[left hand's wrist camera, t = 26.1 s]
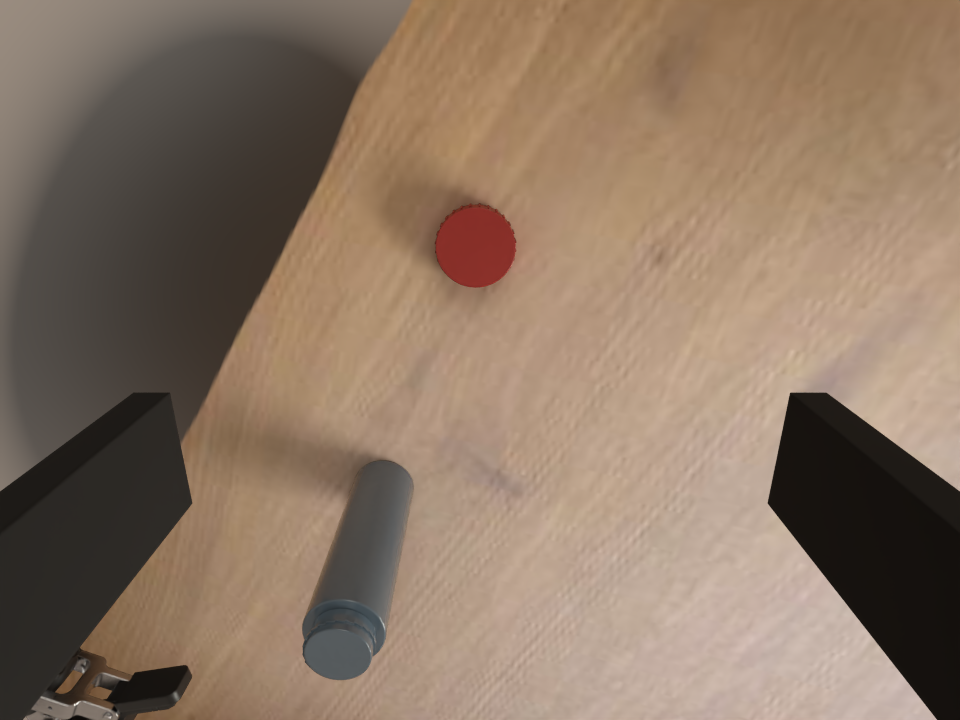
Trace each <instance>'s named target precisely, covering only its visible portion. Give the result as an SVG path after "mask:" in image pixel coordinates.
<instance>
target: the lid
mask: <svg viewBox="0 0 960 720" xmlns="http://www.w3.org/2000/svg"><path fill="white" fill-rule="evenodd" d="M440 227H441V228H440V230H439V231H438V232H437V235H438V236H437V239H436V241H435V244H436V251H435V253H436V255H437V259H438V262H439V264H440V266H441V268H442V270H443V271H444V272H445V273H446V275H447V276H448V277H450V278H451V279H452V280H453V281H455V282H457V283H459V284H461V285H464V286H468V287H484V286H488V285H491V284H493V283H495V282H496V281H498V280H500V279H501V278H502V277H503V276H504V275H505V274H506V273H507V271H508V270H509V269H510V268H511V265H512V263H513V261H514V256H515V252H516V248H515V243H516V239H515V238H514V235H513V234H514V231H513V230H512V229H511V227H510V222H507V220H506V219H505V216H504V215H501V214H500V213H499V212H498V210H497V209H496V210H494V209H493V208H490V207H489V205H487V206H484V205H480V203H479V205H471V204H470V205H468V206H464V207H463V206H461V208H459V209H457V210H453V212H452V213H451V214H450V215H449V216H448V215H447V216H446V218H445V221H444V222H443V223H441V225H440Z"/></svg>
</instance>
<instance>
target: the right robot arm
mask: <svg viewBox="0 0 960 720" xmlns="http://www.w3.org/2000/svg"><path fill="white" fill-rule="evenodd" d="M106 663H107V662H106V659H105V658H104V657H101V656H98V655H95V654H92V653H89V652H87V651H84V650H81V649H80V647H79V649H78V650H77V651H76V652H75V654H74V655H73V656H72V658H71V659H70V660H69V661H68V663H67V664H66V665H65V667H64V668H63V669H62V670H61V672H60V673H59V674H58V675H57V677H56V678H55V679H54V681H53V682H52V683H51V684H50V686H49V687H48V688H47V689H46V691H45V692H44V693H43V695H42V696H41V697H40V698H39V700H38V701H37V702H36V704H35V705H34V706H33V707H32V709H31V710H30V711H29V712H28V714H27V715H26V717H27V719H28V720H134V719H135V717H136V715H137V714H138V713H145V712H152V711H158V710H165V709H169V708H171V707H173V706H174V705H175V704H176V702H177V701H178V700H179V699H180V698H181V697H182V695H183V693H184V691H185V689H186V688H187V686H188V684H189V682H190V680H191V678H192V674H191V672H190V670H189V668H188V667H187V666H186V665H182V666H175V667H169V668H162V669H155V670H149V671H142V672H135V673H134V675H130V674H127V673H124V672H121V671H118V670H115V669H112V668H109V667H107V665H106ZM73 670H75V671H78V672H81V673H83V675H82V677H81V678H80V679H79V681H78V682H77V683H76V685H75V686H74V687H73V689H72V690H71V691H69V692H68V693H65V694H58V693H55V691H56V690H57V689H58V688H59V687H60V686H61V684H62V683H63V682H64V681H65V679H66V678H67V677H68V676H69V674H70V673H71V672H72V671H73ZM97 686H99V687H103V688H106V689H109V690H112V692H111V694H110V695H109V697H108V698H107V699H104V700H102V699H99V698H96V697H93V696H90V695H88V694H89V693H90V692H91V690H92V689H93V688H94V687H97Z"/></svg>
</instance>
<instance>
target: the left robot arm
mask: <svg viewBox="0 0 960 720" xmlns="http://www.w3.org/2000/svg"><path fill="white" fill-rule="evenodd" d="M191 504H192V499H191V494H190V489H189V485H188V480H187V475H186V470H185V465H184V460H183V455H182V450H181V445H180V440H179V436H178V431H177V426H176V421H175V416H174V411H173V406H172V401H171V396H170V393H133V394H131V395H130V396H129V397H127V398H126V399H124V400H123V401H122V402H120V403H119V404H118V405H116V406H115V407H114V408H112V409H111V410H110V411H108V412H107V413H106V414H104V415H103V416H102V417H100V418H99V419H97V420H96V421H95V422H93V423H92V424H91V425H89V426H88V427H87V428H85V429H84V430H83V431H81V432H80V433H79V434H77V435H76V436H75V437H73V438H72V439H70V440H69V441H68V442H66V443H65V444H64V445H62V446H61V447H60V448H58V449H57V450H56V451H54V452H53V453H52V454H50V455H49V456H48V457H46V458H45V459H44V460H42V461H41V462H39V463H38V464H37V465H35V466H34V467H33V468H31V469H30V470H29V471H27V472H26V473H25V474H23V475H22V476H21V477H19V478H18V479H17V480H15V481H14V482H12V483H11V484H10V485H8V486H7V487H6V488H4V489H3V490H2V491H0V720H23V719H24V718H25V716H26V715H27V714H28V712H29V711H30V710H31V709H32V707H33V706H34V705H35V704H36V702H37V701H38V700H39V698H40V697H41V696H42V695H43V693H44V692H45V691H46V689H47V688H48V687H49V686H50V684H51V683H52V682H53V681H54V679H55V678H56V677H57V675H58V674H59V673H60V672H61V670H62V669H63V668H64V667H65V665H66V664H67V663H68V661H69V660H70V659H71V658H72V656H73V655H74V654H75V652H76V651H77V650H78V649H79V647H80V646H81V645H82V644H83V642H84V641H85V640H86V638H87V637H88V636H89V635H90V633H91V632H92V631H93V630H94V628H95V627H96V626H97V624H98V623H99V622H100V621H101V619H102V618H103V617H104V615H105V614H106V613H107V612H108V610H109V609H110V608H111V607H112V605H113V604H114V603H115V601H116V600H117V599H118V598H119V596H120V595H121V594H122V592H123V591H124V590H125V589H126V587H127V586H128V585H129V584H130V582H131V581H132V580H133V578H134V577H135V576H136V575H137V573H138V572H139V571H140V570H141V568H142V567H143V566H144V564H145V563H146V562H147V561H148V559H149V558H150V557H151V555H152V554H153V553H154V552H155V550H156V549H157V548H158V547H159V545H160V544H161V543H162V541H163V540H164V539H165V538H166V536H167V535H168V534H169V532H170V531H171V530H172V529H173V527H174V526H175V525H176V524H177V522H178V521H179V520H180V518H181V517H182V516H183V515H184V513H185V512H186V511H187V510H188V508H189V507H190V506H191ZM768 504H769V506H770V507H771V508H772V510H773V511H774V512H775V513H776V515H777V516H778V517H779V518H780V520H781V521H782V522H783V524H784V525H785V526H786V527H787V529H788V530H789V531H790V532H791V534H792V535H793V536H794V538H795V539H796V540H797V541H798V543H799V544H800V545H801V547H802V548H803V549H804V550H805V552H806V553H807V554H808V555H809V557H810V558H811V559H812V561H813V562H814V563H815V564H816V566H817V567H818V568H819V570H820V571H821V572H822V573H823V575H824V576H825V577H826V578H827V580H828V581H829V582H830V584H831V585H832V586H833V587H834V589H835V590H836V591H837V592H838V594H839V595H840V596H841V598H842V599H843V600H844V601H845V603H846V604H847V605H848V607H849V608H850V609H851V610H852V612H853V613H854V614H855V615H856V617H857V618H858V619H859V621H860V622H861V623H862V624H863V626H864V627H865V628H866V630H867V631H868V632H869V633H870V635H871V636H872V637H873V638H874V640H875V641H876V642H877V644H878V645H879V646H880V647H881V649H882V650H883V651H884V652H885V654H886V655H887V656H888V658H889V659H890V660H891V661H892V663H893V664H894V665H895V667H896V668H897V669H898V670H899V672H900V673H901V674H902V675H903V677H904V678H905V679H906V681H907V682H908V683H909V684H910V686H911V687H912V688H913V689H914V691H915V692H916V693H917V695H918V696H919V697H920V698H921V700H922V701H923V702H924V704H925V705H926V706H927V707H928V709H929V710H930V711H931V712H932V714H933V715H934V716H935V718H936V719H937V720H960V491H958V490H957V489H956V488H954V487H953V486H952V485H950V484H949V483H948V482H946V481H945V480H944V479H942V478H941V477H939V476H938V475H937V474H935V473H934V472H933V471H931V470H930V469H929V468H927V467H926V466H925V465H923V464H922V463H921V462H919V461H918V460H917V459H915V458H914V457H912V456H911V455H910V454H908V453H907V452H906V451H904V450H903V449H902V448H900V447H899V446H898V445H896V444H895V443H894V442H892V441H891V440H890V439H888V438H887V437H885V436H884V435H883V434H881V433H880V432H879V431H877V430H876V429H875V428H873V427H872V426H871V425H869V424H868V423H867V422H865V421H864V420H863V419H861V418H860V417H858V416H857V415H856V414H854V413H853V412H852V411H850V410H849V409H848V408H846V407H845V406H844V405H842V404H841V403H840V402H838V401H837V400H836V399H834V398H833V397H831V396H830V395H829V394H827V393H790V396H789V401H788V406H787V411H786V416H785V421H784V426H783V430H782V435H781V440H780V445H779V450H778V455H777V460H776V465H775V470H774V475H773V480H772V485H771V489H770V494H769V499H768Z"/></svg>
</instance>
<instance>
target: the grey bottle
mask: <svg viewBox="0 0 960 720" xmlns="http://www.w3.org/2000/svg"><path fill="white" fill-rule="evenodd" d="M413 489H414V486H413V481H412V478H411V476H410V475H409V473H408V472H407V471H406V470H405V469H404V468H403V467H401V466H400V465H398V464H396V463H394V462H390V461H375V462H372V463H369V464H367V465H365V466H364V467H363V468H362V469H361V470H360V471H359V472H358V474H357V475H356V478H355V481H354V483H353V486H352V489H351V491H350V494H349V497H348V500H347V502H346V505H345V508H344V511H343V513H342V516H341V519H340V522H339V524H338V527H337V530H336V533H335V535H334V538H333V541H332V544H331V546H330V549H329V552H328V555H327V557H326V560H325V563H324V566H323V568H322V571H321V574H320V577H319V579H318V582H317V585H316V587H315V590H314V593H313V596H312V598H311V601H310V604H309V607H308V609H307V612H306V615H305V618H304V620H303V625H302V631H303V636H304V639H305V641H304V644H303V656H304V659H305V663H306V664H307V665H308V666H309V667H310V668H311V669H312V670H313V671H315V672H316V673H317V674H319V675H321V676H323V677H326V678H329V679H333V680H347V679H352V678H355V677H357V676H359V675H361V674H362V673H364V672H365V671H366V670H367V668H368V667H369V665H370V663H371V660H372V657H373V656H374V655H375V654H377V653H378V652H379V650H380V649H381V648H382V646H383V644H384V642H385V639H386V634H387V628H388V623H389V618H390V612H391V607H392V602H393V596H394V591H395V586H396V580H397V575H398V570H399V564H400V559H401V554H402V549H403V543H404V538H405V533H406V527H407V522H408V517H409V511H410V506H411V501H412V495H413Z"/></svg>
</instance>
